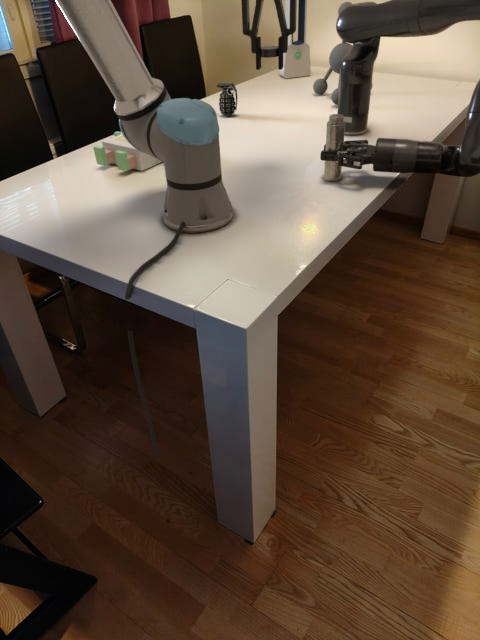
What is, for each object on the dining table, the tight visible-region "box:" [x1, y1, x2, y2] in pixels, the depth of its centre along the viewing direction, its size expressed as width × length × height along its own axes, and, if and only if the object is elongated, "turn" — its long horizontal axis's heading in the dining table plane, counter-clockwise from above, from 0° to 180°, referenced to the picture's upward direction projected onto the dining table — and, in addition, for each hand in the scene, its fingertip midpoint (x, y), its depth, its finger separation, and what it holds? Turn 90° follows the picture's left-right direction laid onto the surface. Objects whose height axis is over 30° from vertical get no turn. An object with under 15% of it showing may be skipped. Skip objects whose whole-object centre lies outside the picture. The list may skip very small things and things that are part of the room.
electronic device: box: [278, 0, 312, 79], centre depth 204 cm, size 12×8×30 cm, turn 105°
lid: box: [259, 45, 278, 59], centre depth 115 cm, size 5×5×2 cm
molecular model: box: [312, 1, 373, 106], centre depth 171 cm, size 24×22×30 cm
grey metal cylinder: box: [323, 113, 345, 182], centre depth 117 cm, size 4×4×15 cm
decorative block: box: [92, 131, 163, 172], centre depth 138 cm, size 26×6×20 cm
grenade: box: [215, 82, 238, 117], centre depth 166 cm, size 7×6×10 cm
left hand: (269, 68), depth 117 cm, fingers closed on lid, 5 cm apart
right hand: (322, 151), depth 118 cm, fingers closed on grey metal cylinder, 4 cm apart
